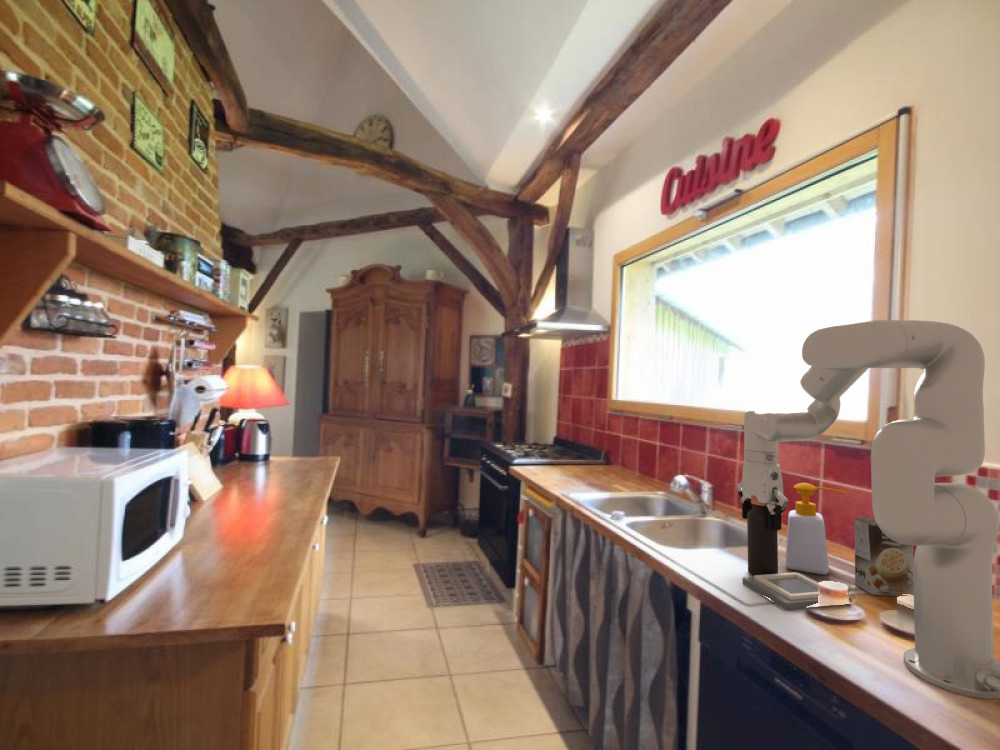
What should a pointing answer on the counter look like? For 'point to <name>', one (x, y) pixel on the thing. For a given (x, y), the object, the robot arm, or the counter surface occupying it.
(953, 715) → the counter surface
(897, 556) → the cookie box
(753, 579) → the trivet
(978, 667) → the robot arm
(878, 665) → the counter surface
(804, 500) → the soap bottle
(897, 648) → the counter surface
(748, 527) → the vinegar
